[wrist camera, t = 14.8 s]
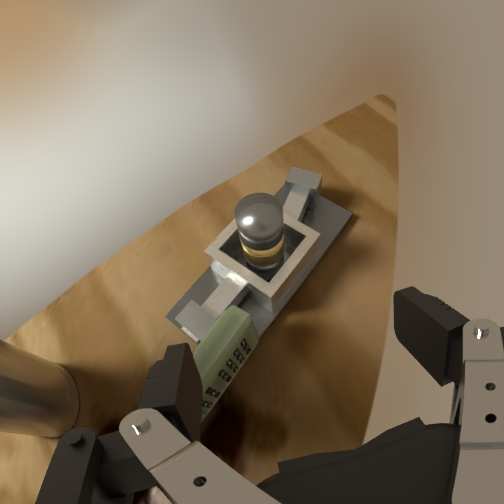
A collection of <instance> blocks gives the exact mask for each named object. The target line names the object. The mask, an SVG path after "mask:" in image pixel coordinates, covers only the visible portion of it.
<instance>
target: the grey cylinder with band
mask: <svg viewBox="0 0 504 504" xmlns="http://www.w3.org/2000/svg"><path fill="white" fill-rule="evenodd" d="M234 214H235V219H236V224H237V228H238V232H239V236H240V240H241V244H242V249H243V253H244V257H245V261H246V265H247V269H248V270H250V271H251V272H253V273H254V274H256V275H257V276H259V277H260V278H262V279H263V280H269V279H272V278H273V277H274V276H275V275H276V273H277V272H278V271H279V270H280V268H281V267H282V266H283V265H284V224H283V207H282V204H281V202H280V201H279V200H278V199H277V198H276V197H274V196H272V195H270V194H267V193H254V194H250V195H248V196H246V197H244V198H243V199H241V200H240V201H239V203H238V204H237V206H236V208H235V213H234Z"/></svg>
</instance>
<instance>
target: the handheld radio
mask: <svg viewBox="0 0 504 504" xmlns="http://www.w3.org/2000/svg"><path fill="white" fill-rule="evenodd" d="M255 342H256V343H255ZM258 342H259V340H258V333H257V331H256V329H255V326H254V324H253V321H252V319H251V317H250V314H249V313H247V312H245V311H243V310H242V309H240V308H238V307H236V306H235V305H232V306H230V307H229V308H228V309H227V310H224V311H223V312H222V313H221V315H220V316H219V318H218V319H217V320H216V322H215V323H214V324H213V326H212V327H211V328H210V330H209V331H208V332H207V334H206V335H205V336H204V338H203V339H202V341H201V342H200V343H199V345H198V346H197V347H196V349H195V351H194V354H193V358H194V360H195V363H196V366H197V369H198V371H199V374H200V377H201V381H202V386H203V399H202V417H201V423H202V421H203V420H204V419H205V417H206V416H207V415H208V413H209V412H210V410H211V409H212V408H213V406H214V405H215V404H216V402H217V401H218V400H219V398H220V397H221V395H222V394H223V393H224V391H225V390H226V388H227V387H228V386H229V384H230V383H231V381H232V380H233V379H234V377H235V376H236V374H237V373H238V371H239V370H240V369H241V367H242V366H243V364H244V363H245V361H246V360H247V359H248V357H249V356H250V354H251V353H252V351H253V350H254V348H255V347H256V345H257V344H258ZM134 493H135V492H134Z"/></svg>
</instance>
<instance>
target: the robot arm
mask: <svg viewBox="0 0 504 504" xmlns="http://www.w3.org/2000/svg"><path fill="white" fill-rule="evenodd" d="M394 330H395V334H396V337H397V339H398V340H399V342H400V343H401V344H402V345H403V346H404V347H405V348H406V349H407V350H408V351H409V352H410V353H411V354H412V355H413V356H414V358H415V359H416V360H417V361H418V362H419V363H420V364H421V365H422V366H423V367H424V368H425V369H426V370H427V372H428V373H429V374H430V375H431V376H432V377H433V378H434V379H435V380H436V381H437V382H438V384H439V385H440V386H441V387H442V386H444V385H446V384H448V383H450V382H452V381H453V382H454V383H455V385H454V390H453V399H452V408H451V416H450V423H449V424H448V423H439V424H430V425H425V424H424V423H423V422H422V421H421V419H420V418H419V417H418V418H415V419H413V420H411V421H408V422H406V423H404V424H401V425H399V426H396V427H394V428H392V429H389V430H387V431H385V432H383V433H382V434H380V435H379V436H377V437H376V438H374V439H372V440H371V441H369V442H367V443H366V444H364V445H362V446H361V447H359V448H357V449H353V450H346V451H337V452H327V453H315V454H311V455H307V456H304V457H300V458H295V459H291V460H287V461H282V462H278V467H279V472H280V473H277V474H275V475H273V476H271V477H269V478H267V479H265V480H264V481H262V482H261V483H259V484H258V485H257V486H255V485H254V484H252V483H251V482H249V481H248V480H247V479H245V478H244V477H243V476H241V475H240V474H239V473H237V472H236V471H235V470H233V469H232V468H231V467H229V466H228V465H227V464H226V463H224V462H223V461H222V460H221V459H219V458H218V457H217V456H216V455H214V454H213V453H212V452H211V451H210V450H208V449H207V448H206V447H205V446H204V445H202V444H201V443H200V437H201V417H202V399H203V386H202V381H201V377H200V374H199V371H198V369H197V366H196V363H195V360H194V358H193V355H192V352H191V349H190V347H189V345H188V343H182V344H177V345H171V346H168V347H167V349H166V353H165V357H164V360H160V361H157V362H156V363H155V364H154V365H153V366H152V367H151V368H150V369H149V373H148V376H147V380H146V382H145V385H144V386H145V387H144V389H143V392H142V395H141V398H140V402H139V405H138V408H137V410H136V411H133V412H131V413H130V414H128V415H127V416H126V417H125V418H124V419H123V420H122V421H121V423H120V426H119V430H118V431H115V432H112V433H109V434H105V435H102V436H98V437H97V435H96V434H95V432H94V431H93V430H92V429H91V428H88V427H76V428H73V429H71V428H72V426H73V425H74V423H75V421H76V418H77V415H78V410H79V397H78V391H77V388H76V384H75V382H74V380H73V378H72V377H71V375H70V374H69V372H68V371H67V370H66V369H64V368H63V367H62V366H60V365H58V364H56V363H53V362H51V361H48V360H46V359H43V358H41V357H39V356H36V355H34V354H32V353H29V352H27V351H25V350H22V349H20V348H18V347H16V346H14V345H11V344H9V343H7V342H5V341H3V340H1V339H0V431H1V432H8V433H15V434H24V435H32V436H43V437H59V436H62V435H63V436H62V437H61V438H60V440H59V442H58V444H57V447H56V449H55V452H54V454H53V457H52V459H51V462H50V464H49V467H48V470H47V472H46V475H45V478H44V480H43V483H42V486H41V489H40V492H39V494H38V497H37V500H36V503H35V504H133V500H134V492H137V491H141V490H144V489H148V488H151V487H154V486H157V487H158V488H159V489H160V490H161V491H162V492H163V494H164V495H165V496H166V497H167V498H168V499H169V501H170V502H171V503H172V504H504V327H499V326H498V325H497V324H496V323H495V322H493V321H491V320H488V319H474V320H471V321H470V320H469V319H467V318H466V317H464V316H463V315H462V314H460V313H459V312H458V311H456V310H455V309H453V308H451V307H450V306H449V305H447V304H445V302H443V301H441V300H440V299H439V298H437V297H433V296H431V295H427V294H423V293H422V292H420V291H419V290H418V289H416V288H415V287H412V286H411V287H408V288H405V289H402V290H399V291H396V292H395V293H394ZM70 429H71V430H70Z"/></svg>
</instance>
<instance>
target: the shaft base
mask: <svg viewBox="0 0 504 504" xmlns="http://www.w3.org/2000/svg"><path fill="white" fill-rule="evenodd" d="M322 175H323V174H319V173H316V172H312V171H308V170H304V169H301V168H297V167H293V166H292V168H291V170H290V172H289V174H288V176H287V178H286V180H285V184H284V186H283V187H282V188H281V189H280V190H279V191H278V192H277V193H276V194H275V195H274V197H276V198H277V199H278V200H279V201H280V202H281V204H282V207H283V224H284V265H283V266H282V267H281V268H280V270H279V271H278V272H277V273H276V275H275V276H274V277H273V278H272V279H269V280H263V279H262V278H260V277H259V276H257V275H256V274H254V273H253V272H251V271H250V270H248V269H247V265H246V261H245V257H244V253H243V249H242V244H241V240H240V236H239V232H238V228H237V224H236V219H234V220H233V221H232V222H231V223H230V224H229V225H228V226H227V227H226V228H225V229H224V230H223V231H222V232H221V233H220V235H219V236H218V237H217V238H216V239H215V240H214V241H213V242H212V243H211V244H210V245H209V246H208V247H207V249H206V250H205V251H204V253H205V255H206V257H207V259H208V262H209V264H210V267H209V268H208V269H207V270H206V271H205V272H204V273H203V274H202V275H201V277H200V278H199V279H198V280H197V281H196V282H195V283H194V284H193V286H192V287H191V288H190V289H189V290H188V291H187V292H186V293H185V295H184V296H183V297H182V298H181V299H180V300H179V301H178V302H177V304H176V305H175V306H174V307H173V308H172V309H171V310H170V312H169V313H168V314H167V315H166V317H167V318H168V319H169V320H170V321H171V322H172V323H173V324H175V325H176V326H177V327H178V328H179V329H180V330H182V331H183V332H184V333H185V334H186V335H187V336H189V337H190V338H191V339H192V340H193V341H195V342H196V343H197V344H198V345H199V343H200V342H201V341H202V339H203V338H204V336H205V335H206V334H207V332H208V331H209V330H210V328H211V327H212V326H213V324H214V323H215V322H216V320H217V319H218V318H219V316H220V315H221V313H222V312H223V311H224V310H227V309H228V308H229V307H230V306H232V305H235V306H236V307H238V308H240V309H242V310H243V311H245V312H247V313H249V314H250V317H251V319H252V321H253V324H254V326H255V329H256V331H257V333H258V340H260V339H261V338H262V337H263V335H264V334H265V333H266V332H267V330H268V329H269V328H270V327H271V325H272V324H273V323H274V321H275V320H276V319H277V318H278V316H279V315H280V314H281V313H282V311H283V310H284V309H285V307H286V306H287V305H288V303H289V302H290V301H291V300H292V298H293V297H294V296H295V294H296V293H297V292H298V290H299V289H300V288H301V286H302V285H303V284H304V282H305V281H306V280H307V278H308V277H309V276H310V274H311V273H312V272H313V270H314V269H315V268H316V266H317V265H318V264H319V262H320V261H321V260H322V258H323V257H324V255H325V254H326V253H327V251H328V250H329V249H330V247H331V246H332V244H333V243H334V242H335V240H336V239H337V238H338V236H339V235H340V233H341V232H342V230H343V229H344V228H345V226H346V225H347V223H348V222H349V221H350V219H351V217H352V213H351V212H349V211H348V210H346V209H344V208H342V207H340V206H339V205H337V204H335V203H333V202H331V201H329V200H328V199H326V198H324V197H322V196H320V193H321V184H322ZM255 343H256V342H255Z"/></svg>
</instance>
